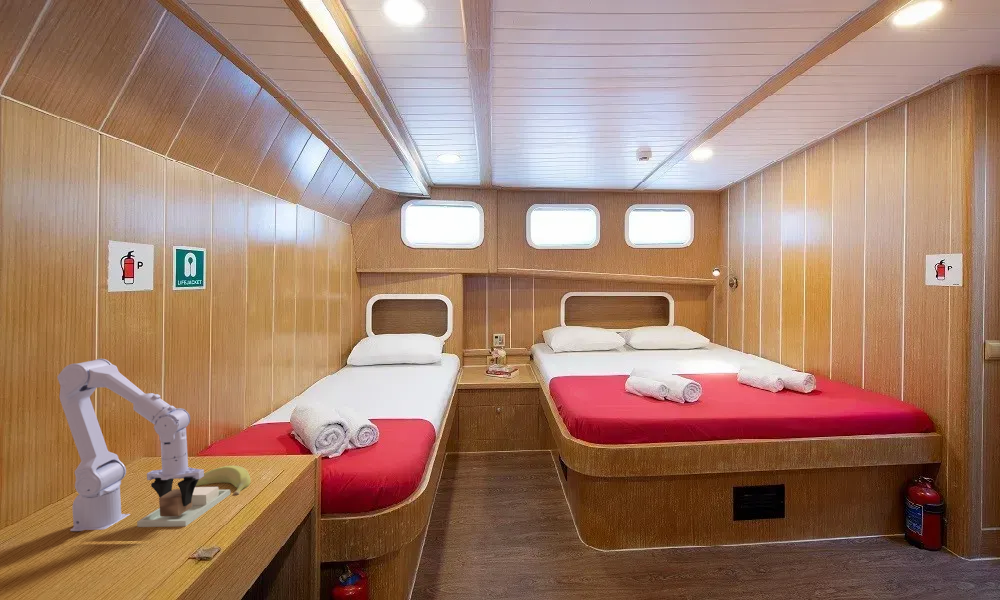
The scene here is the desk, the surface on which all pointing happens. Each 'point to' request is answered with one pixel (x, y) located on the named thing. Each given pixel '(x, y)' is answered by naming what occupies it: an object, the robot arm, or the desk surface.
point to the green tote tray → (184, 518)
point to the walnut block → (172, 504)
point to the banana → (227, 477)
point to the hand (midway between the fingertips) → (177, 504)
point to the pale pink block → (204, 495)
